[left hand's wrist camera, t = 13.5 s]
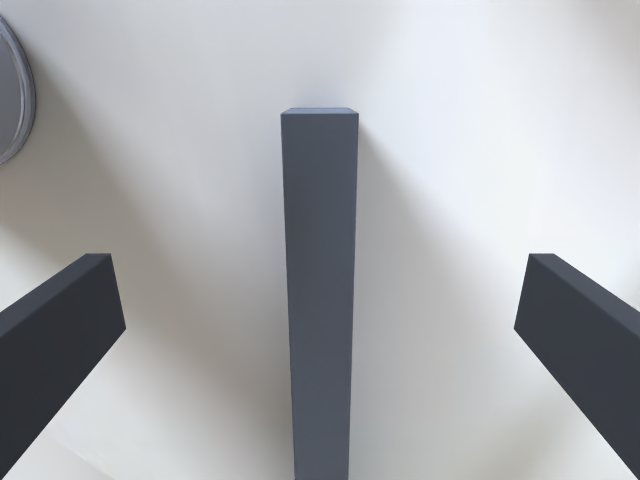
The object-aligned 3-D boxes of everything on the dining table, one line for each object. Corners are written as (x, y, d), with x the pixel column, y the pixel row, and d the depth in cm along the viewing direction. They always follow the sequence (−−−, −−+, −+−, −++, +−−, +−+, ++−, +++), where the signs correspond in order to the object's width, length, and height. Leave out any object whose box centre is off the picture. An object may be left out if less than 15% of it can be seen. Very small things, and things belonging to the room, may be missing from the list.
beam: (290, 108, 32) (280, 113, 24) (348, 107, 32) (358, 112, 24) (303, 536, 51) (300, 621, 43) (340, 536, 51) (344, 621, 43)
